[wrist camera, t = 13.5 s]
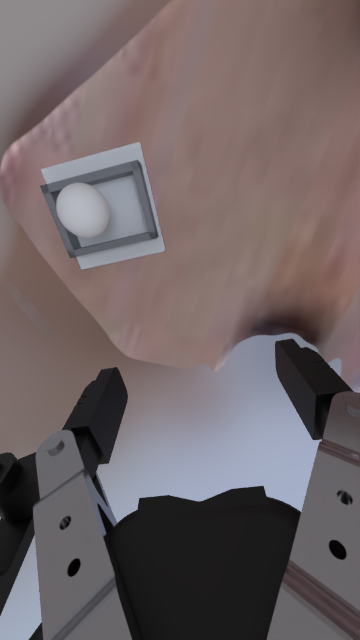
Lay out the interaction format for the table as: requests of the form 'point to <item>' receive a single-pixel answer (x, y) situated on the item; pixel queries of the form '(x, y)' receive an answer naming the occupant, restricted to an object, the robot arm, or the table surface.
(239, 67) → the table surface
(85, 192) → the lightbulb
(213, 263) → the table surface
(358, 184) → the table surface
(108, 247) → the grey flat square tray
